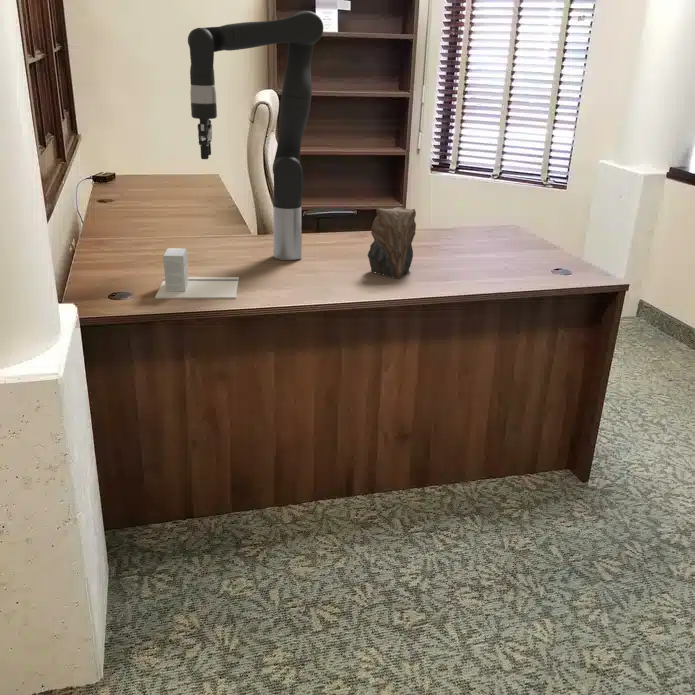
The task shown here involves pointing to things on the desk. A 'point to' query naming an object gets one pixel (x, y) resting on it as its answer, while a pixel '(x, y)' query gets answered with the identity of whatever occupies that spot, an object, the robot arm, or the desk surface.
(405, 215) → the owl
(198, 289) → the mat
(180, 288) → the small box
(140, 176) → the desk surface
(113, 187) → the desk surface
